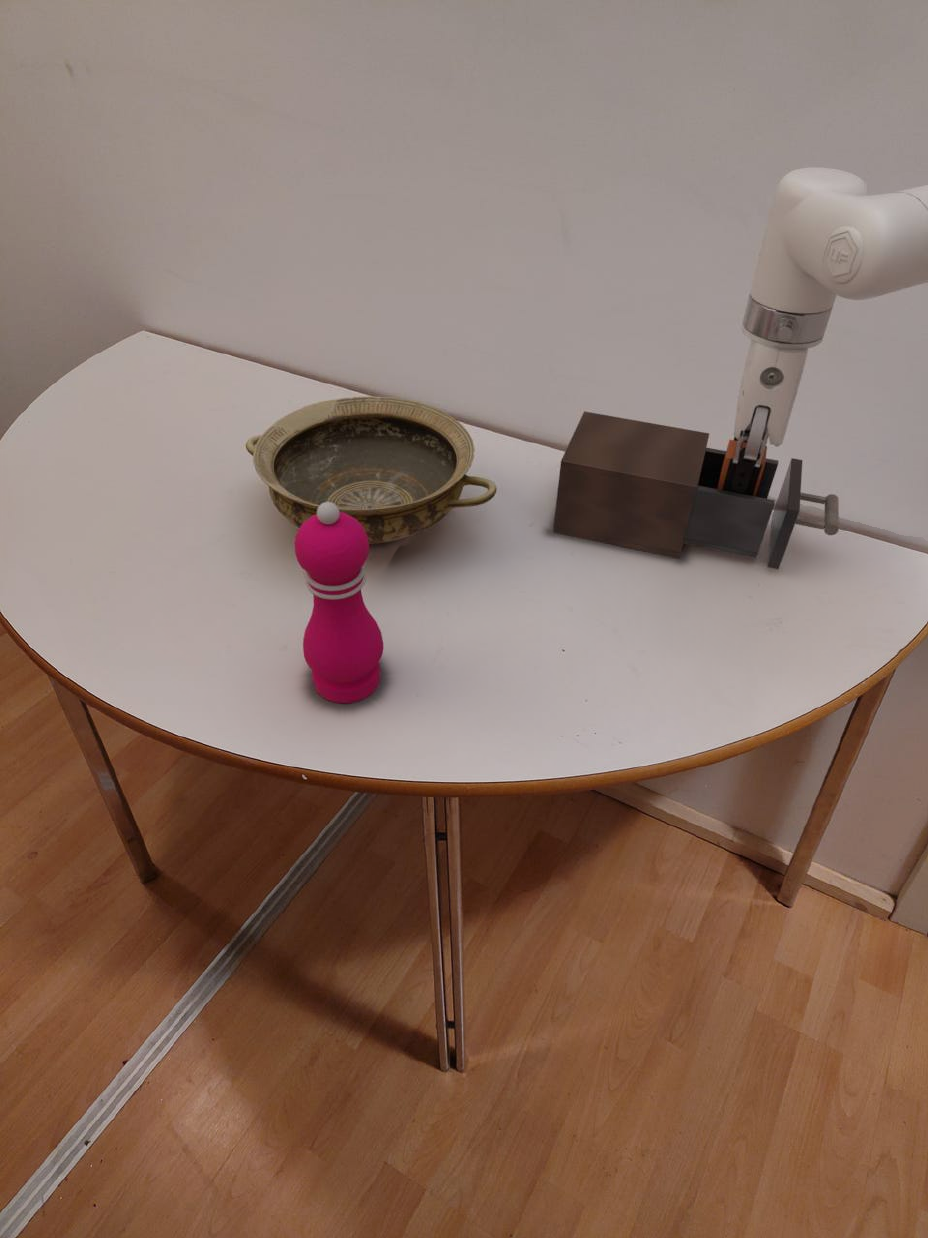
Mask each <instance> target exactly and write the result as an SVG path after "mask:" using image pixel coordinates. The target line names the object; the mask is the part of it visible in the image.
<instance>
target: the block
mask: <svg viewBox="0 0 928 1238" xmlns="http://www.w3.org/2000/svg"><path fill="white" fill-rule="evenodd" d="M737 442H738V441H735V440H734V439H729V440H728V443H727V447H726V450H725V451H726V454H725V458H724V462H723V465H722V469H721V474H720V479H719V484H718V489H719V490H722V489H723V484H724V481H725V477H726V473H727V470H728V466H729V462H730V459H731V458H734V454H735V450H736V446H737ZM746 445H747V443H746V442H743V445H742V448H743V447H744V448H746ZM741 450H742V449H741ZM767 451H768V446H767V445H766V447H765V450H764V454H763V457H762V461H761V464H762V467H761V470H760V474H759V477H758V480H757V483H756V487H755V490H754V493H753V496H756V493H757V489H758V486H759V483H760V480H761V476H762V473H763V470H764V467H765V461H766V458H767Z"/></svg>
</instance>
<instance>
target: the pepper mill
mask: <svg viewBox="0 0 928 1238" xmlns="http://www.w3.org/2000/svg"><path fill="white" fill-rule="evenodd" d="M369 554H370V543H369V541H368V537H367V533H366V531H365V530H364V528H363V526H362V525H361V524H360V523H359V522H358V520H356V519H355V518H353V517H352V516H350V515H348V514H345V513H342V512H339V509H338V507H337V506H336V505H335V504H334V503H331V502H324V503H322V504H321V505H320V506H319V507H318V509H317V514H316V515H313V516H312V517H310V518H309V519H307V520H306V521H305V522H304V523H303V524H302V525H301V527H300V528H299V527H298V529H297V531H296V534H295V539H294V555H295V559H296V560H297V562H298V565H299V566H300V568H301V569H302V570H304V571H303V573H304V574H303V575H304V578H305V585H306V588H307V590H308V591H309V592H310V593H311V594H312V595H313V596H312V597H313V607H312V613H311V615H310V618H309V621H308V622H307V625H306V627H305V630H304V634H303V639H302V650H303V651H302V652H303V657H304V660H305V663H306V664H307V666H308V667H309V668H310V669H311V674H312V682H313V686H314V689H315V690H316V692H317V694H319V696H321V697H322V698H324V699H326V700H328V701H329V702H332V703H336V704H337V703H339V704H352V703H355V702H359V701H362V700H364V699H366V698H368V697H369V696H370V695H372V694H373V693H374V692H375V691H376V690H377V688H378V686H379V684H380V681H381V668H380V667H381V666H380V661H381V660H382V658H383V653H384V641H383V635H382V631H381V629H380V627H379V624H378V622H377V621H376V619H375V618H374V616H373V615H372V614H371V612H370V611H369V610H368V608H367V607H366V604H365V602H364V599H363V593H362V589H363V587H364V585H365V584H366V580H367V577H366V567H365V563H366V561H367V559H368V557H369Z"/></svg>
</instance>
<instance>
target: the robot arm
mask: <svg viewBox="0 0 928 1238" xmlns="http://www.w3.org/2000/svg"><path fill="white" fill-rule="evenodd" d="M923 284H928V184H927V185H922V186H916V187H912V188H906V189H903V190H897V191H893V192H887V193H879V194H872V195H869V193H868V186H867V184H866V182H865V181H864V180H863V179H862V177H860V176H858V175H856V174H855V173H852V172H849V171H845V170H842V169H837V168H831V167H822V166H821V167H819V166H817V167H814V166H813V167H812V166H811V167H802V168H801V167H800V168H796V169H793V170H792V171H790V172H788V173H786V174H785V175H784V176H783V177H782V178H781V179H780V181H779V182H778V184H777V186H776V189H775V192H774V195H773V199H772V202H771V207H770V211H769V215H768V219H767V223H766V227H765V231H764V234H763V238H762V243H761V248H760V251H759V255H758V259H757V262H756V266H755V271H754V275H753V279H752V284H751V287H750V290H749V295H748V299H747V304H746V307H745V311H744V316H743V319H742V323H741V327H740V328H741V332H742V333H743V335H744V336H745V337H746V338H748V339H750V343H749V348H748V350H747V351H748V352H747V355H746V360H745V363H744V368H743V372H742V377H741V381H740V386H739V391H738V396H737V403H736V412H735V418H734V427H733V440H735V441H738V442H737V446H736V450H735V454H734V458H731V459H730V462H729V466H728V470H727V473H726V477H725V481H724V484H723V489H722V490H724V491H729V492H734V493H739V494H745V495H750V496H753V493H754V490H755V487H756V483H757V480H758V477H759V474H760V470H761V467H762V464H761V461H762V457H763V454H764V450H765V447H766V446H767V444H768V440H769V445H774V447H780V446H781V445H783V443H784V440H785V436H786V433H787V428H788V425H789V421H790V419H791V414H792V411H793V409H794V404H795V401H796V397H797V394H798V390H799V387H800V383H801V380H802V377H803V376H802V375H803V373H804V369H805V365H806V361H807V356H808V352H809V349H811V348H815V347H816V346H818V345H820V344H822V341H823V340H824V336H825V333H826V330H827V327H828V324H829V320H830V317H831V314H832V311H833V308H834V305H835V301H836V298H837V296H838V297H840V298H843V299H846V300H851V301H863V300H869V299H874V298H878V297H881V296H885V295H889V294H891V293H892V294H893V293H896V292H899V291H902V290H905V289H909V288H912V287H916V286H919V285H923ZM743 442H746V443H747V445H746V448H744V447H743V448H742V445H743ZM741 449H742V450H741Z"/></svg>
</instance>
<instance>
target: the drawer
mask: <svg viewBox="0 0 928 1238" xmlns="http://www.w3.org/2000/svg"><path fill="white" fill-rule="evenodd" d="M725 454H726V450H724V449H723V450H722V449H717V448H711V447H706V451H705V456H704V460H703V465H702V469H701V473H700V478H699V482H698V487H697V491H696V495H695V499H694V503H693V507H692V511H691V515H690V518H689V522H688V526H687V530H686V534H685V538H684V542H683V545H689V546H693V547H698V548H703V549H707V550H712V551H716V552H717V551H718V552H722V553H727V554H732V555H737V556H741V557H745V558H752V559H755V560H756V559H757V557H758V555H759V551H760V548H761V545H762V542H763V539H764V537H765V534H766V530H767V528H768V525H769V522H770V518H771V525H770V536H769V545H768V546H769V547H768V556H767V566H766V567H767V568H769V569H774V570H779V569H780V566H781V564H782V561H783V558H784V556H785V554H786V550H787V547H788V544H789V541H790V539H791V537H792V534H793V530H794V528H795V525H799V526H803V527H808V528H812V529H819V530H823V531H824V534H826V535H828V536H834V535H837V534H838V532H839V531H840V529H839V527H840V526H839V523H840V522H839V521H840V519H839V518H840V517H839V514H840V513H839V512H840V511H839V505H840V504H839V502H840V500H839V497H838V496H837V494H827V495H826V496H821V495H816V494H811V493H806V492H802V476H803V459H799V458H793V457H792V458H790V460H789V461H790V462H789V464H788V467H787V470H786V474H785V475H784V479H783V482H782V485H781V488H780V491H779V494H778V497H777V500H776V502H775V499H770V498H768V497H769V494H770V491H771V488H772V484H773V482H774V479H775V475H776V472H777V469H778V466H779V460H777V459H773V458H768V457H766V461H765V467H764V470H763V473H762V476H761V480H760V483H759V486H758V489H757V493H756V496H750V495H745V494H739V493H734V492H729V491H724V490H719V489H718V484H719V479H720V474H721V469H722V465H723V462H724V458H725ZM801 501H805V502H810V503H815V504H821V505H824V514H823V515H824V516H823V517H824V518H823V521H819V520H814V519H810V518H804V517H799V514H800V511H801ZM771 515H772V516H771Z"/></svg>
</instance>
